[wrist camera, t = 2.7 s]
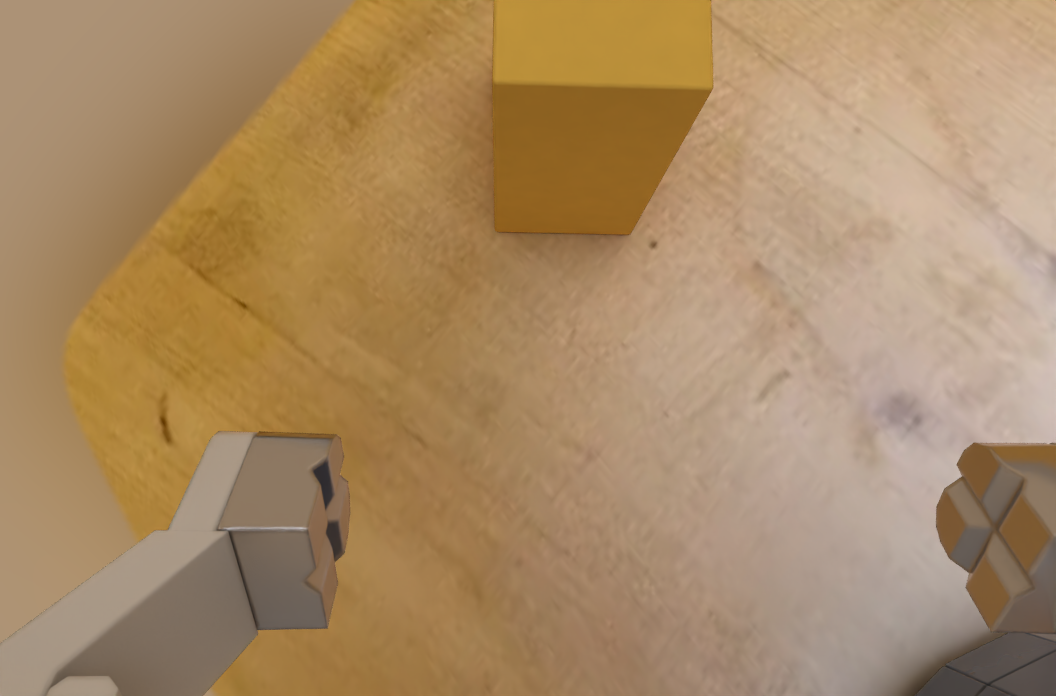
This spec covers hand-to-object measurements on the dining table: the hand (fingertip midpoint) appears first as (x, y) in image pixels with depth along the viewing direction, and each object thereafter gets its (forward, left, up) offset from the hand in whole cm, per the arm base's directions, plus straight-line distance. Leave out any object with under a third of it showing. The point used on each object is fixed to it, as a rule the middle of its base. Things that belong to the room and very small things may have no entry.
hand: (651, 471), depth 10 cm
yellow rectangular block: (-5, +9, -14) cm, 18 cm away
